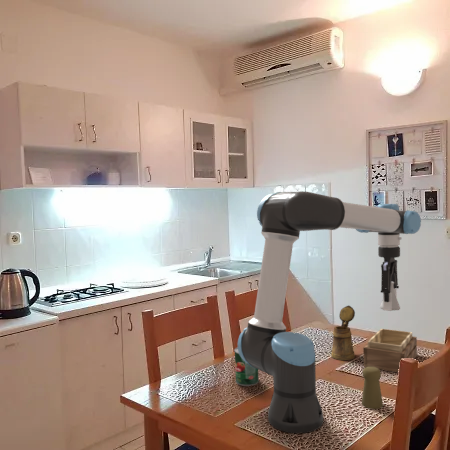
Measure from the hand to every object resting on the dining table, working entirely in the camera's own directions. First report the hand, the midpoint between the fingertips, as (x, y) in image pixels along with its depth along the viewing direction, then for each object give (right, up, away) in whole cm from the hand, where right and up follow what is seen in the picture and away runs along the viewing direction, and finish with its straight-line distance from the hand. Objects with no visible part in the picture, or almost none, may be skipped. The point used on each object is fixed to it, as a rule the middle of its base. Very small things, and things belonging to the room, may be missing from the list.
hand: (390, 307), depth 171 cm
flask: (0, -1, 0) cm, 1 cm away
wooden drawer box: (+1, -20, +1) cm, 20 cm away
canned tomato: (-53, -23, -13) cm, 59 cm away
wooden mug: (-14, -20, +10) cm, 26 cm away
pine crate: (+1, -20, +1) cm, 20 cm away
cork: (-17, -23, -33) cm, 44 cm away
